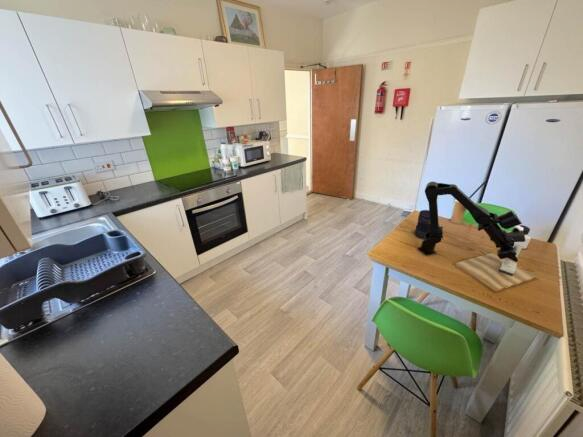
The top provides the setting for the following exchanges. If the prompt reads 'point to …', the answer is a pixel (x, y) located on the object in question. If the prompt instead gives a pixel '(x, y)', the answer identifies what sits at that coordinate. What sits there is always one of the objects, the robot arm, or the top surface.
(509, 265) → the dish brush
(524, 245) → the medicine bottle
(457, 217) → the utensil holder
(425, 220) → the storage jar
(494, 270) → the chopping board
